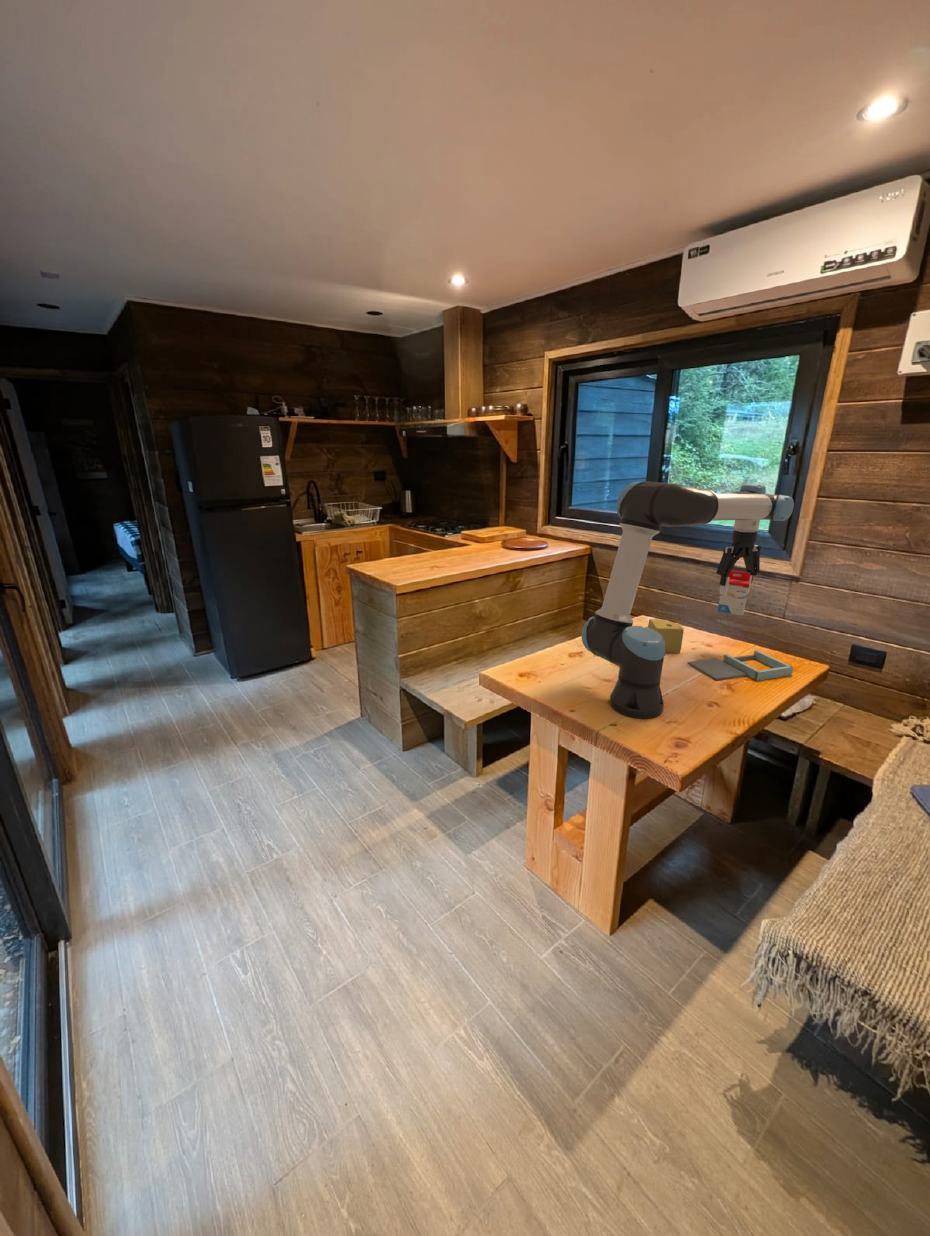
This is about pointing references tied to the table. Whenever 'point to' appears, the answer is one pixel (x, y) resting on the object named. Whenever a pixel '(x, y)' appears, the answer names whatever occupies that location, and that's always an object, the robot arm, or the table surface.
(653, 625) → the cheese
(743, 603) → the ink box
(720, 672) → the slate pad
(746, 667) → the open picture frame
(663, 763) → the table surface
